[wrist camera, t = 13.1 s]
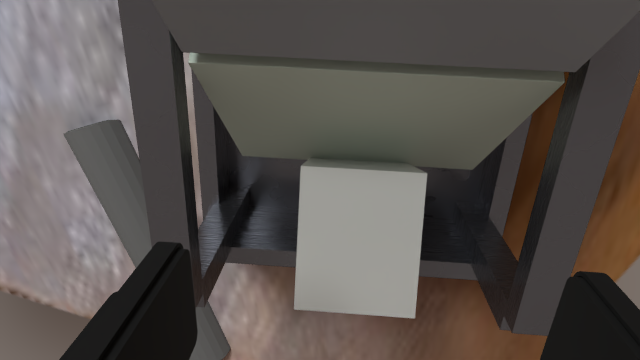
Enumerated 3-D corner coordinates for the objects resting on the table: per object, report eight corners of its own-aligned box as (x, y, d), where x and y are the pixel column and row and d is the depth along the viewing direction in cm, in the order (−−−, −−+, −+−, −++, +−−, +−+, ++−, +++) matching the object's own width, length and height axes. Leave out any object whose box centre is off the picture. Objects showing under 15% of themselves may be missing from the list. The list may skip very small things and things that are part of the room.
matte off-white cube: (427, 173, 17) (415, 318, 17) (408, 163, 22) (399, 276, 22) (300, 165, 17) (293, 309, 18) (310, 157, 22) (304, 269, 23)
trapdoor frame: (561, -122, 20) (777, -242, 10) (482, 230, 28) (559, 365, 17) (197, -134, 21) (53, -257, 11) (218, 212, 28) (146, 332, 18)
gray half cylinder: (186, 355, 34) (179, 373, 33) (65, 129, 27) (47, 137, 26) (235, 345, 34) (230, 363, 32) (124, 111, 27) (110, 119, 25)
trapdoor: (650, -99, 10) (666, -15, 9) (471, 126, 23) (472, 169, 22) (149, -117, 10) (130, -37, 10) (247, 114, 23) (242, 155, 22)
